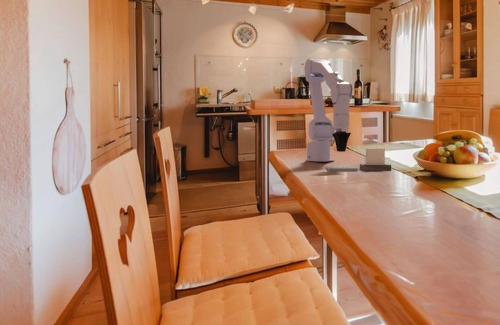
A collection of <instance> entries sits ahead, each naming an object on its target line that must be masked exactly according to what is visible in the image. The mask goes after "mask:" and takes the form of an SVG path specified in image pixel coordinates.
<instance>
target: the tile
mask: <svg viewBox="0 0 500 325" xmlns="http://www.w3.org/2000/svg"><path fill="white" fill-rule="evenodd" d="M325 168H326V170H327V171H328V172H359V171H358V169H359V167H355V166H352V165H351V166H350V165H349V166H347V165H346V166H345V165H344V166H342V165H341V166H340V165H339V166H336V165H335V166H325Z"/></svg>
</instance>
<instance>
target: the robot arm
mask: <svg viewBox="0 0 500 325" xmlns="http://www.w3.org/2000/svg"><path fill="white" fill-rule="evenodd" d="M331 66H332V64H331V61H330V60H329V59H327V58H326V59H320V58H319V59H316V58H315V59H314V58H307V59H306V61H305V63H304V67H303V68H304V69H303V71H304V75H305V76H304V78H305V81H306V82H308V86H309V92H310V99H311V107H312V114H313V119H311V120H310V121H309V123H308V137H309V138H310V140H309V141H308V142H307V145H306V159H305V161H306V162H335V159H331V141H332V140H334V142H335V147H336V151H337V152H339V153H340V152H341V153H344V152H345V153H346V150H347V146H348V143H349V142H348V141H349V138H350V136H351V135H352V132H348V131H349V130H351V126H350V98H351V97H352V95H353V90H354V88H353V84H352V83H351V81H345V80H344V79H343V78H342V76H340V74H339V72H338V71H333V69H332V67H331ZM323 82H325V83H326V84H325V85H327V87H328V88H329V90H330V92H329V93H330V97H331V102H332V106H333V110H332V111H333V113H332V114H333V116H332V118H333V121H332V120H331V119H330V118H328V116H327V115H326V109H325V103H324V102H325V101H324V96H323V90H322V89H323V88H322V83H323Z"/></svg>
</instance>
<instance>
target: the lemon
mask: <svg viewBox="0 0 500 325" xmlns="http://www.w3.org/2000/svg"><path fill="white" fill-rule="evenodd" d="M425 148H426V147H424V148H423V149H421V150H419V152H418V153H417V156H416V158H417V157H419V158H424V150H425ZM417 165H418V166H419V168H422V167H421V166H420V165H419V164H418V163H417Z"/></svg>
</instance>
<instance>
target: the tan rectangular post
mask: <svg viewBox="0 0 500 325" xmlns="http://www.w3.org/2000/svg"><path fill="white" fill-rule="evenodd" d="M385 151H386V148H384V147H383V148H378V147H377V148H374V147H373V148H365V164H366V165H385V164H386V162H385V158H386V152H385Z"/></svg>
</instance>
